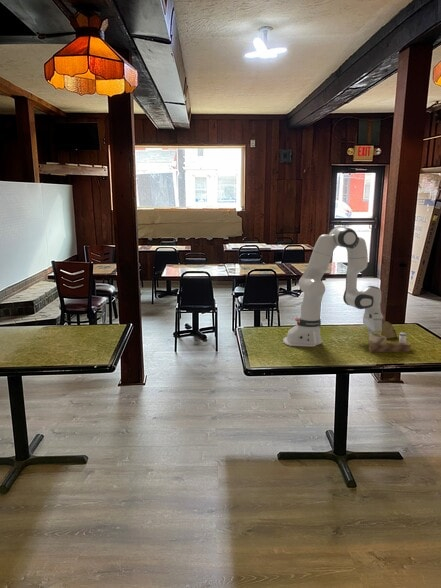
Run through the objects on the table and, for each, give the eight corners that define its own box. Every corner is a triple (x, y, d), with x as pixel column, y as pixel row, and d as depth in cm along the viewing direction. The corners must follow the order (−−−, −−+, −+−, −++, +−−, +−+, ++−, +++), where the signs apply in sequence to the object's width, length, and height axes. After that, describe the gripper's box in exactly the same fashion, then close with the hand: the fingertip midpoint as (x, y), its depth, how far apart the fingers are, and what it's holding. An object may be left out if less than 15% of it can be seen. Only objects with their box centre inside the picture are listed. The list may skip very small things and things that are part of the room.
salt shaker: (400, 348, 243) (401, 334, 241) (397, 345, 246) (398, 332, 245) (406, 347, 243) (408, 334, 241) (403, 345, 247) (404, 332, 245)
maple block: (376, 346, 246) (376, 338, 245) (368, 342, 253) (369, 334, 252) (385, 345, 247) (386, 337, 246) (377, 341, 255) (378, 333, 254)
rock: (396, 331, 267) (379, 328, 269) (400, 322, 260) (383, 319, 263) (396, 345, 260) (379, 342, 262) (400, 337, 254) (382, 334, 256)
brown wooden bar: (370, 352, 236) (371, 345, 235) (368, 350, 239) (369, 343, 238) (410, 351, 237) (410, 344, 236) (407, 349, 240) (408, 342, 239)
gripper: (360, 309, 267) (359, 330, 269) (373, 317, 247) (372, 340, 249) (371, 308, 267) (369, 330, 270) (384, 317, 247) (382, 340, 250)
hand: (370, 335), depth 259 cm, fingers closed
